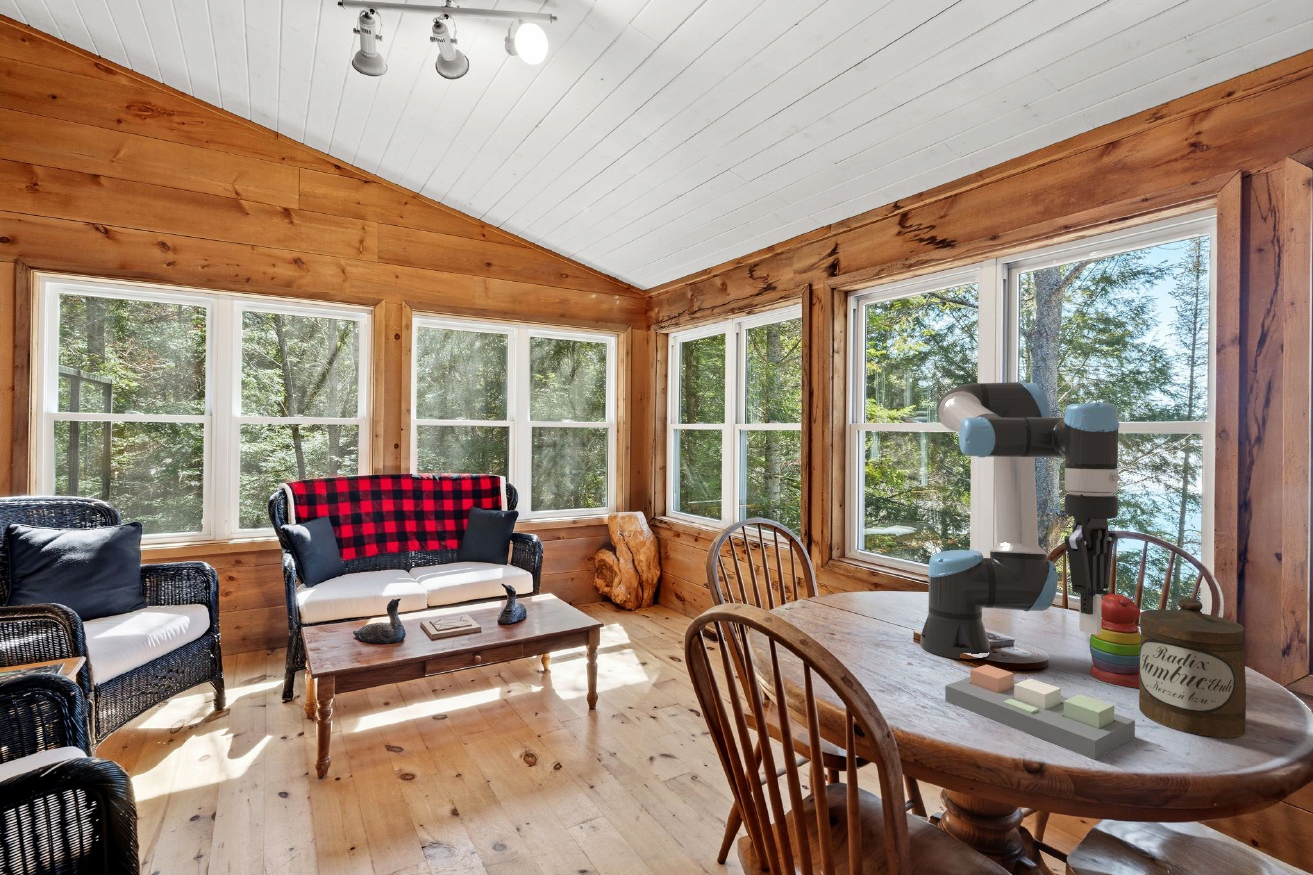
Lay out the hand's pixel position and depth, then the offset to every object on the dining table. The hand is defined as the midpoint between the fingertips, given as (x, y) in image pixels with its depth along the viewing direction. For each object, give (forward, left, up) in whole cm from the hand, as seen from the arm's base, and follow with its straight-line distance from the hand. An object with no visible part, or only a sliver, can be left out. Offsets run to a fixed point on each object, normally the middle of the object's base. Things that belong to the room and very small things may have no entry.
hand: (1090, 632), depth 109 cm
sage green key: (0, 0, -15) cm, 15 cm away
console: (-9, -1, -18) cm, 20 cm away
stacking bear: (-10, +34, -18) cm, 40 cm away
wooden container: (+6, +23, -18) cm, 30 cm away
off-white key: (-9, 0, -15) cm, 18 cm away
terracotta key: (-17, 0, -15) cm, 23 cm away
